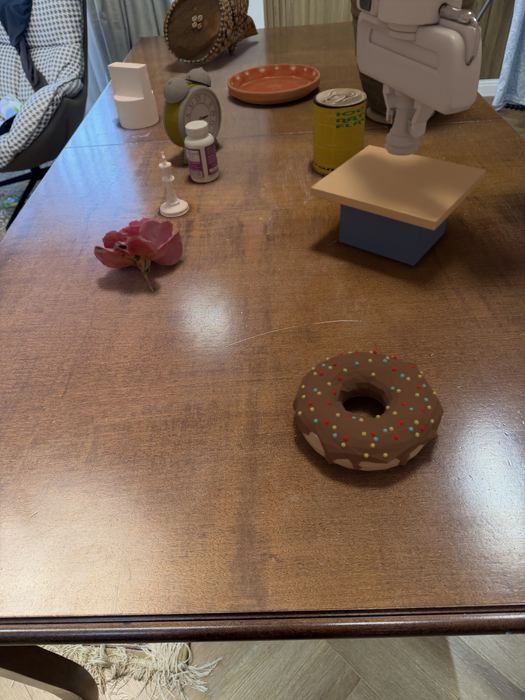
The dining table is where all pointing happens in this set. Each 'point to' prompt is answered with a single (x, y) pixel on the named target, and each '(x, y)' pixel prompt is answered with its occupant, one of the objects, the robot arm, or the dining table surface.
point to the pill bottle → (201, 152)
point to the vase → (373, 86)
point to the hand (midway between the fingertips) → (404, 128)
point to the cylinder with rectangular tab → (133, 95)
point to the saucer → (274, 83)
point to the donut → (359, 431)
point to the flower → (141, 245)
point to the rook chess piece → (402, 128)
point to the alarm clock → (190, 106)
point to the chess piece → (171, 193)
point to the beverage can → (337, 127)
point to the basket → (206, 28)
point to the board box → (396, 200)
